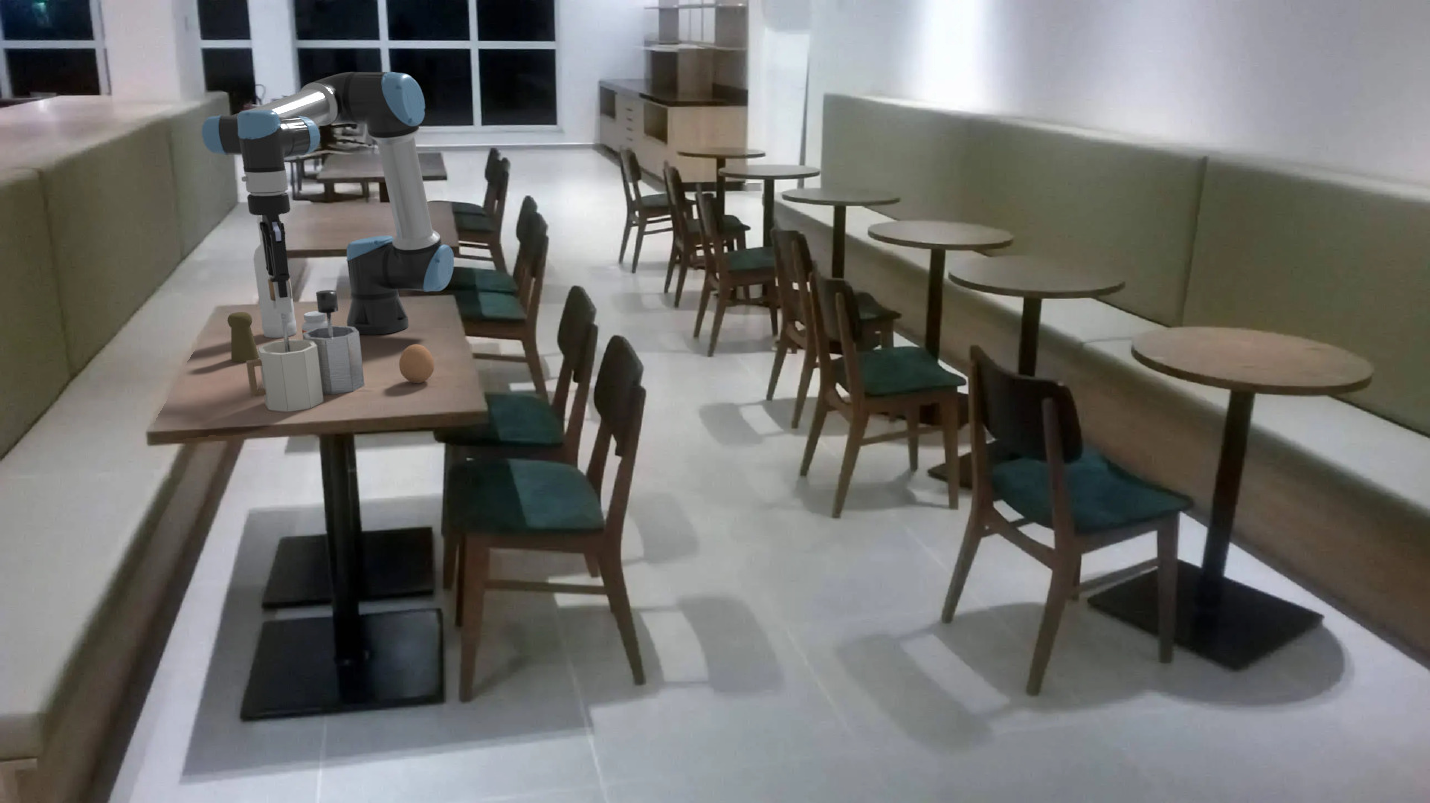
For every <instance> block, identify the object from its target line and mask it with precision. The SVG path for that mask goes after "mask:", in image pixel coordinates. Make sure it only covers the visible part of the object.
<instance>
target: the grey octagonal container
mask: <svg viewBox="0 0 1430 803" xmlns="http://www.w3.org/2000/svg"><path fill="white" fill-rule="evenodd" d="M332 328H333V338H329V332H328V327H320V328H314V329H312V330H309V331H307V332H304V333H302V340H312V341H313V342H314V343H315V344H316V345H317V351H318V359H319V368H320V376H321V384H322V393H323V395H336V394H344V393H351V392H354V391H356V390H358V389H361V388H362V387H364V386H365V378H364V368H363V359H362V358H363V357H362V349H361V348H362V347H361V340H360V339H361V338H360V334H359V331H358V330H357V329H356V328H355V327H349V326H347V325H332Z"/></svg>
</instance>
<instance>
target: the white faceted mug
mask: <svg viewBox="0 0 1430 803" xmlns="http://www.w3.org/2000/svg"><path fill="white" fill-rule="evenodd" d="M289 345H290V352H287V353H286V351H285V343H284V339H283V340H276V341H270V342H268V343H265V344H263V345H260V346H259V347H257V352H258V355H259V359H255V360H248V361H246V362H245V364H246V370H247V378H248V383H249V392H250V396H251V397H252V398H254V397H260V396H264V405H265V406H266V407H267V409H268V410H269V411H275V412H276V411H277V412H285V413H288V412H289V413H290V412H296V411H302V410H308V409H312V408H314V407H316V406H317V405H320V404H321V403H323V402H324V394H323V393H322V384H321V376H320V368H319V359H318V351H317V345H316V344H315V343H314V342H313V341H312V340H303V339H298V338H297V339H295V338H292V339H289ZM255 367H260V376H261V381H262V382H261V383H262V388H261V387H260V388H258V383H257V377H256V370H255V369H256V368H255Z"/></svg>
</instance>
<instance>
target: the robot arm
mask: <svg viewBox="0 0 1430 803" xmlns="http://www.w3.org/2000/svg"><path fill="white" fill-rule="evenodd" d="M422 91H423V90H422V89H421V86H420V85H419V83H418V82H417V81H416V80H415V79H414V78H413V77H412V76H411V75H409V74H407V73H403V72H393V71H376V72H375V71H374V72H372V71H368V72H367V71H366V72H363V71H361V72H358V71H350V72H349V71H348V72H342V73H338V74H333V75H331V76H327V77H324V78H321V79H318V80H315V81H313V82H309V83H307V84H306V85H304V86H303V87H302V88H301V89H300V91H299V92H296V93H293V94H290V95H287V96H285V97H282V98H279V99H277V100H274V101H270V102H268V103H265V104H262V105H259V106H256V107H253V108H250V109H248V110H243V111H240V112H239V113H235V114H232V115H223V114H220V115H214V116H209V117H207V118H206V119H205V120H204V121H203V124H202V127H201V137H202V142H203V144H204V146H205V147H206V149H208V151H209V152H211V153H213V154H218V155H225V156H229V155H234V156H235V155H236V156H237V155H238V156H241V158H242V164H243V167H242V168H243V174H244V175H245V176H242V177H241V182H243V183H244V182H245V190H246V192H247V193H249V194H248V195H247V196H246V200H247V204H248V206H247V207H248V213H249V214H251V215H252V216H258V215H260V216H261V215H262V222H260V230H261V232H262V240H263V246H264V253H265V260H266V269H267V271H268V274H269V276H270V277H269V278H273V277H274V279H270V281H271V282H273V284H274V292H275V299H276V301H273V300H272V303H273V309H277V313H278V314H282V313H291V312H292V306H291V298H290V290H289V282H288V279H290V280H291V276H290V271H289V270H290V268H288V267H289V261H288V260H289V259H288V253H287V244H286V231H285V224H284V223H283V222H282V221H281V218H280V215H284V214H288V213H290V211H291V204H290V196H289V194H288V192H286V191H288V190H289V185H288V178H287V177H288V176H287V170H286V165H285V158H291V157H297V156H302V157H303V156H306V155H307V154H311V153H312V152H315V150H317V149H318V147H319V145H320V142H321V134H320V130H319V127H323V126H328V125H330V124H349V125H350V124H351V125H365V126H366V129H367V133H368V137H369V138H371V139H373V140H374V141H376V145H377V148H378V152H379V153H378V154H379V157H380V161H381V162H380V163H381V167H382V171H383V175H384V180H385V185H386V189H387V195H388V199H389V204H390V208H391V213H392V217H393V223H394V227H395V230H396V236H395V237H393V236H392V235H378V236H377V235H376V236H371V237H370V236H369V237H365V238H361V239H356V240H354V241H351V242H349V244H347V246H346V263H347V269H348V270H347V271H348V272H347V273H348V280H349V287H350V288H349V289H350V295H351V297H350V298H351V300H350V306H349V310H348V315H347V319H346V326H349V327H355V328H356V329H357V330H358V331H359V335H370V336H371V335H385V334H390V333H391V334H392V333H395V332H399V331H400V332H401V331H403V330H404V329H407V328H408V327H409V317H408V315H407V311H406V310H405V307H404V305H403V303H402V301H401V298H400V295H399V291H400V290H402V291H403V290H405V291H419V292H427V293H428V292H440V291H442V290H444V289H445V288H446V287H448V285H449V283H450V282H451V279H452V275H453V272H454V266H455V265H454V264H455V263H454V262H455V260H454V259H455V256H454V251H453V249H452V248H451V247H450V245H448V244H442V240H441V234H440V233H438V232H437V231H436V230H434V229H433V227H432V226H433V225H432V221H431V215H430V209H429V205H428V201H427V200H428V199H427V196H426V195H427V194H426V191H425V185H424V179H423V175H422V169H421V164H420V160H419V155H418V149H417V145H416V140H415V136H416V134H418V132H419V130H420V124H422V122H423V120H424V118H425V114H426V113H425V109H426V104H425V98H424V93H423V92H422ZM318 126H319V127H318ZM287 259H288V260H287Z"/></svg>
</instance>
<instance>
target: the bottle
mask: <svg viewBox="0 0 1430 803" xmlns="http://www.w3.org/2000/svg"><path fill="white" fill-rule="evenodd" d="M260 222H262V215H261V216H260V215H256V223H257V227H258V234H259V240H260V241H259V242H260V244H259V245H258V247H257V248H256V249H255V250H254V254H253V265H254V272H255V278H256V280H255V281H256V288H257V296H258V302H259V310H260V318H261V327H262V328H261V329H262V332H263V336H264V337H266V338H271V339H272V338H273V339H279V338H280V339H282V338H284V335H283V328H282V320H281V314H278V313H277V309H273V303H272V300H271V299H270V292H269V285H268V279H269V277H270V276H269V274H268V271H267V269H266V260H265V253H264V246H263V240H262V232H261V230H260ZM287 260H289V259H288V258H287ZM288 268H289V266H288ZM289 269H290V268H289ZM291 284H292V283H291V282H290V287H291V288H292V285H291ZM291 295H292V296H293V291H292V290H291ZM291 306H292V312H291V313H286V321H287V329H288V337H291V336H294V335H296V334H297V321H296V318H295V317H296V316H295V315H296V314H295V308H294V301H293V297H292V298H291Z"/></svg>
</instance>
